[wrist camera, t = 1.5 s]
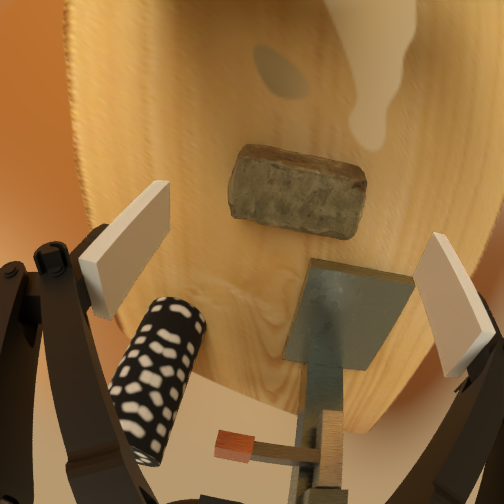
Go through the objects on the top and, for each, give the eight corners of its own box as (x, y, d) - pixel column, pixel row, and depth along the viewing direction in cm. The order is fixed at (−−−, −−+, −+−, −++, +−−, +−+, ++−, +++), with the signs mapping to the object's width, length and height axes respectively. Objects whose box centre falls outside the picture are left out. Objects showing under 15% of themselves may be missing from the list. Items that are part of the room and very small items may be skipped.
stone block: (349, 218, 30) (355, 246, 26) (233, 196, 31) (221, 220, 27) (364, 163, 27) (374, 183, 23) (239, 139, 27) (226, 155, 23)
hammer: (228, 392, 32) (209, 468, 24) (345, 409, 31) (343, 485, 23) (226, 406, 34) (209, 476, 26) (335, 422, 33) (331, 492, 25)
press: (310, 257, 33) (295, 502, 14) (412, 277, 32) (461, 491, 13) (278, 366, 45) (253, 525, 25) (355, 377, 44) (354, 529, 24)
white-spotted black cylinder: (216, 336, 43) (175, 471, 26) (167, 341, 45) (119, 459, 29) (188, 292, 39) (126, 438, 22) (138, 301, 41) (72, 425, 25)
